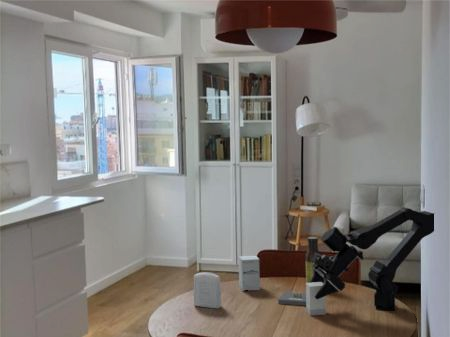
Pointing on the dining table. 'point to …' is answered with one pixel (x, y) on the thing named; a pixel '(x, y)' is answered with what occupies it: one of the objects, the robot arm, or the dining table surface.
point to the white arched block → (207, 290)
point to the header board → (293, 298)
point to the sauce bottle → (309, 255)
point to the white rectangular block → (312, 303)
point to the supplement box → (249, 273)
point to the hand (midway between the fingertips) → (311, 294)
